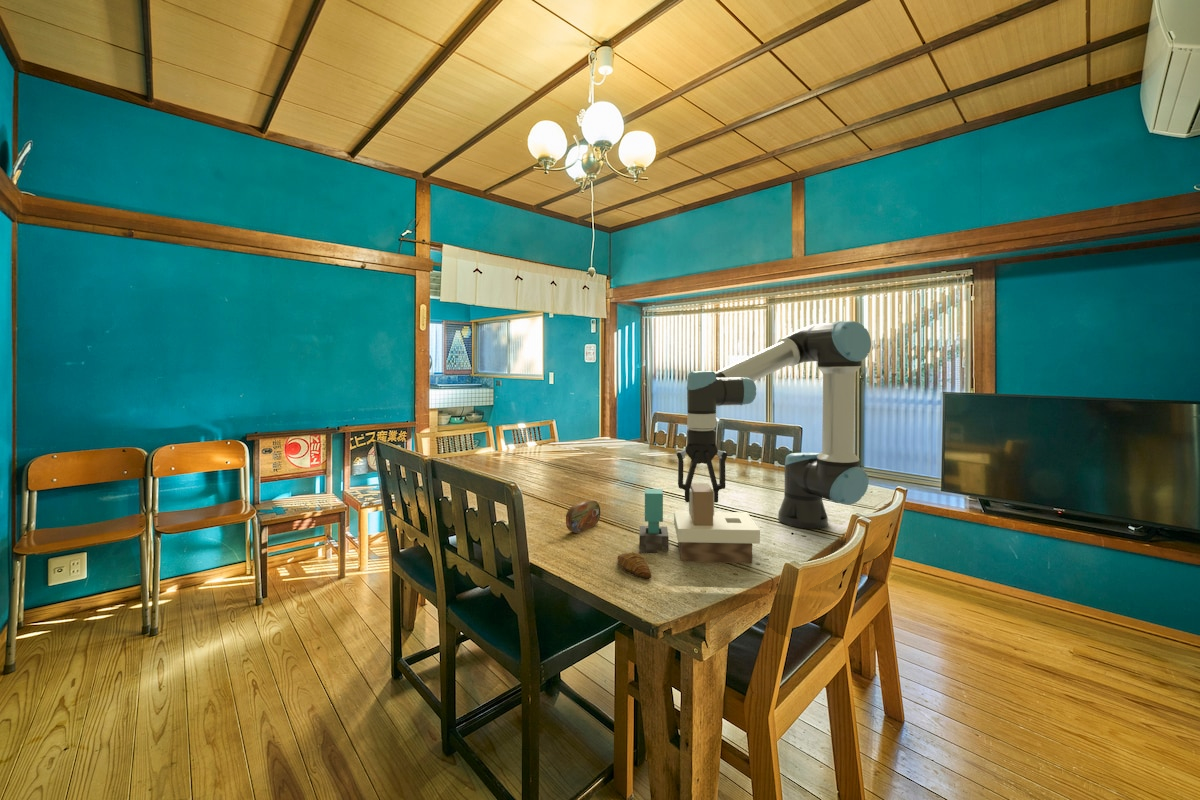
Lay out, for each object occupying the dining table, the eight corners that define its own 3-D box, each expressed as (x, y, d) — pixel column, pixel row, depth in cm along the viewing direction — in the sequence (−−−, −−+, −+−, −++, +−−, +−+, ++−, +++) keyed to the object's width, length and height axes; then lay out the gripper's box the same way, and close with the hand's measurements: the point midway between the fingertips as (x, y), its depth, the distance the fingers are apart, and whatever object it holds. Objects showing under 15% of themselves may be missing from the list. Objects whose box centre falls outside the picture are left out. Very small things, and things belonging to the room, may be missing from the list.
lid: (747, 524, 136) (747, 481, 135) (759, 543, 122) (760, 495, 121) (674, 523, 138) (674, 480, 137) (678, 542, 123) (678, 494, 122)
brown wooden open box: (742, 549, 135) (742, 528, 135) (751, 566, 123) (752, 544, 123) (677, 547, 137) (678, 526, 136) (681, 564, 125) (681, 542, 125)
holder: (666, 543, 140) (666, 526, 140) (668, 553, 132) (668, 536, 132) (639, 542, 141) (639, 525, 140) (639, 553, 133) (639, 535, 132)
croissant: (608, 564, 126) (608, 546, 125) (629, 559, 129) (629, 541, 129) (637, 585, 114) (637, 564, 113) (660, 578, 117) (660, 558, 117)
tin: (571, 536, 146) (571, 509, 146) (564, 534, 148) (563, 507, 148) (601, 523, 158) (601, 498, 158) (593, 521, 160) (593, 496, 160)
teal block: (661, 541, 139) (662, 489, 138) (662, 548, 134) (662, 493, 133) (644, 541, 139) (644, 488, 138) (644, 547, 134) (644, 493, 133)
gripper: (733, 426, 131) (732, 510, 133) (666, 427, 132) (667, 509, 134) (738, 430, 123) (738, 518, 125) (668, 430, 125) (668, 517, 127)
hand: (701, 513), depth 130 cm, fingers closed on lid, 5 cm apart
